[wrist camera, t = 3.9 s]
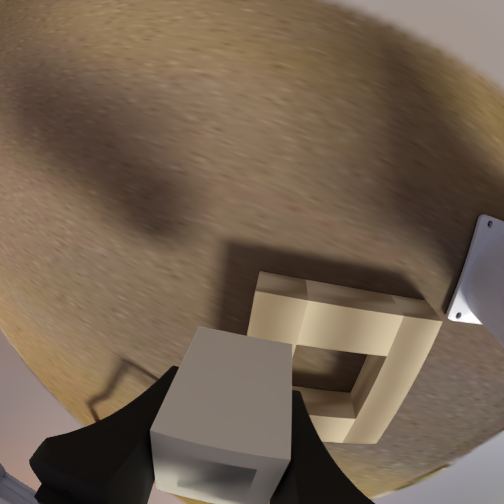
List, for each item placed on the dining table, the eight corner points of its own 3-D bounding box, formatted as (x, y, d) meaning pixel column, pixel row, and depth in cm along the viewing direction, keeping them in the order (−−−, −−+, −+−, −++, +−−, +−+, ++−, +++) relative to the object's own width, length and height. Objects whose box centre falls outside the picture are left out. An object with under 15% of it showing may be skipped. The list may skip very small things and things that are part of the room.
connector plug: (291, 344, 13) (290, 459, 7) (273, 407, 14) (263, 511, 9) (198, 325, 13) (149, 430, 8) (193, 391, 15) (156, 488, 9)
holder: (426, 300, 20) (442, 321, 17) (370, 418, 24) (375, 443, 21) (259, 270, 21) (255, 290, 18) (234, 402, 24) (228, 428, 22)
